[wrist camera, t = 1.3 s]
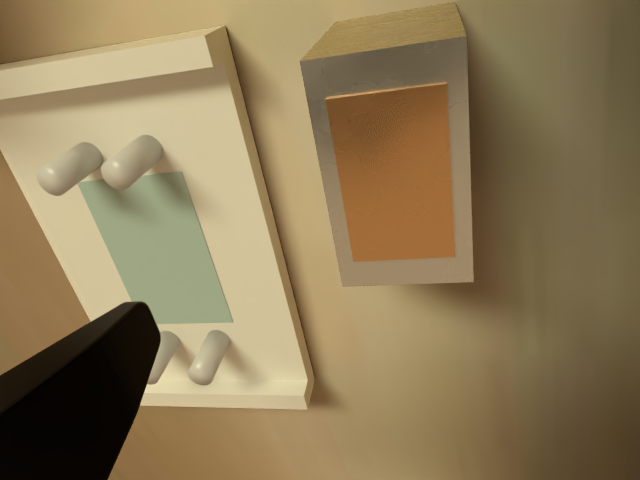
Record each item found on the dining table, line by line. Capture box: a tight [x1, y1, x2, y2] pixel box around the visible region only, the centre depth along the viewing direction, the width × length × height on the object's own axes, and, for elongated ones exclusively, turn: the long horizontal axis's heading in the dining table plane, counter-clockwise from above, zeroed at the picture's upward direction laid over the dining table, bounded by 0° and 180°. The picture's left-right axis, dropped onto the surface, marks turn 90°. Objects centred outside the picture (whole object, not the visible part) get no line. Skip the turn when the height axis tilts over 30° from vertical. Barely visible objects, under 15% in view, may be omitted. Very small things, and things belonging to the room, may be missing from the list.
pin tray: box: [0, 25, 315, 409], centre depth 22 cm, size 11×18×4 cm, turn 10°
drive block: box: [300, 2, 474, 287], centre depth 16 cm, size 4×7×6 cm, turn 10°
